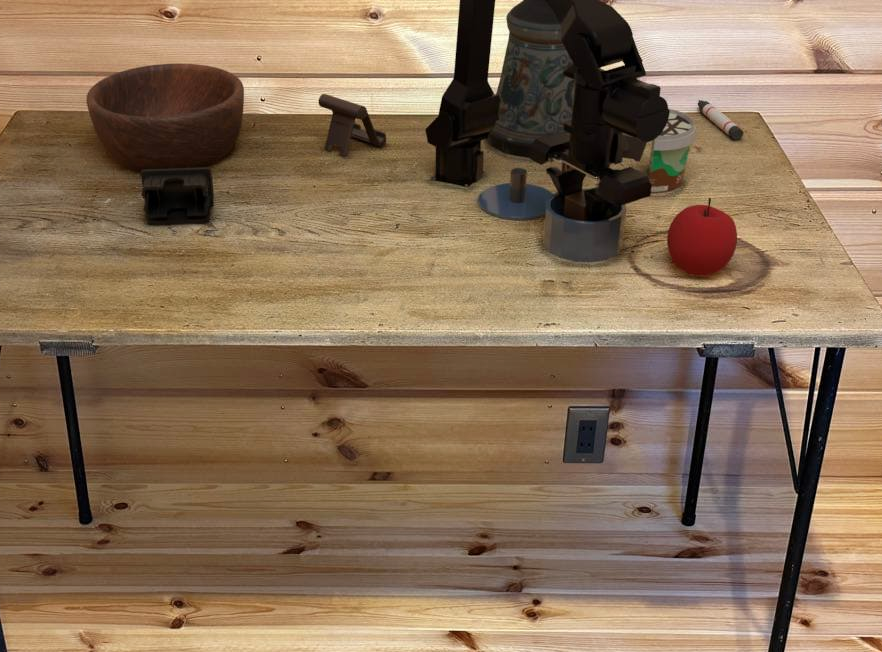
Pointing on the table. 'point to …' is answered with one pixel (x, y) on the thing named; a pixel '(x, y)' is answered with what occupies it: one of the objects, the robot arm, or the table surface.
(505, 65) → the beer stein
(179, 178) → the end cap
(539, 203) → the lid
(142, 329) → the table surface
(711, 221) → the apple
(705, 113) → the marker
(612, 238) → the tin
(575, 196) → the block
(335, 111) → the tablet stand
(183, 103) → the wooden bowl
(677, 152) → the food container
